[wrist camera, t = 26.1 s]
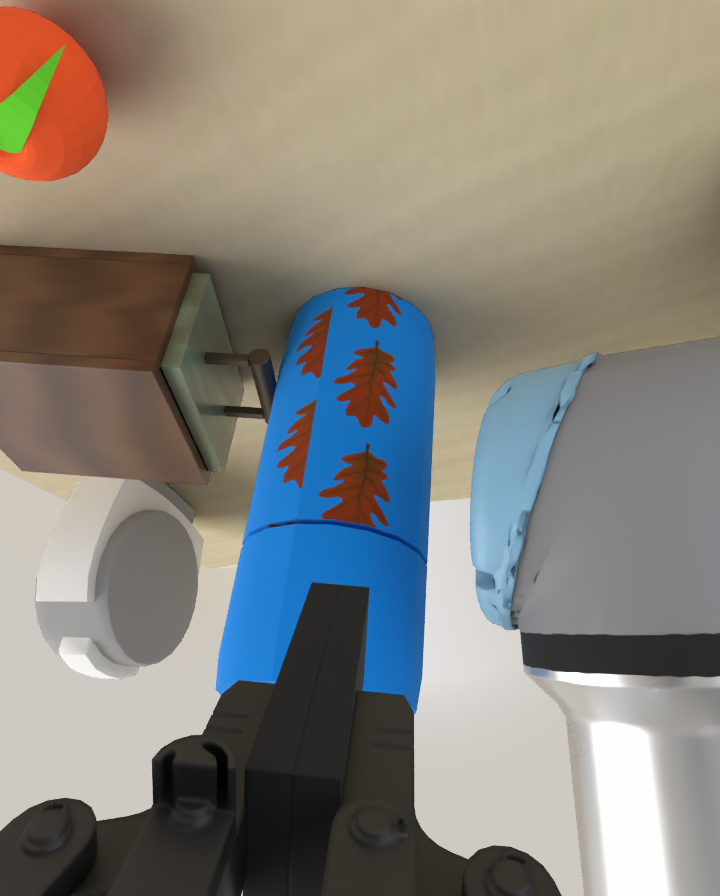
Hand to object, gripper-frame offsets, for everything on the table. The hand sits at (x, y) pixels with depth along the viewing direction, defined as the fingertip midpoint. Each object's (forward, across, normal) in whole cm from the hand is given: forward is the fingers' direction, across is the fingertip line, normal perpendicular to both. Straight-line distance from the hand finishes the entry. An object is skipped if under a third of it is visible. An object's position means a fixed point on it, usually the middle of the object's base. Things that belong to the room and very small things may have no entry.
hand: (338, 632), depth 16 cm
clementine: (+18, -17, +19) cm, 31 cm away
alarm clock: (+51, -27, -14) cm, 59 cm away
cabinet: (+31, -20, +6) cm, 38 cm away
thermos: (+31, -2, +6) cm, 32 cm away
